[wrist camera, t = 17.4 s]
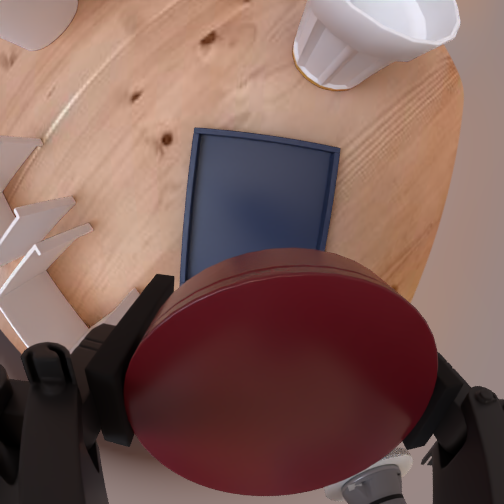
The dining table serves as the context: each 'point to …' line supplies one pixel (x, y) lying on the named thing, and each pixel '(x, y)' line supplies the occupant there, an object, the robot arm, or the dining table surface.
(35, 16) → the tall pillar cylinder
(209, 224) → the tray
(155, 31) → the dining table surface
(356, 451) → the lid
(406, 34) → the cup
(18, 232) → the storage container
